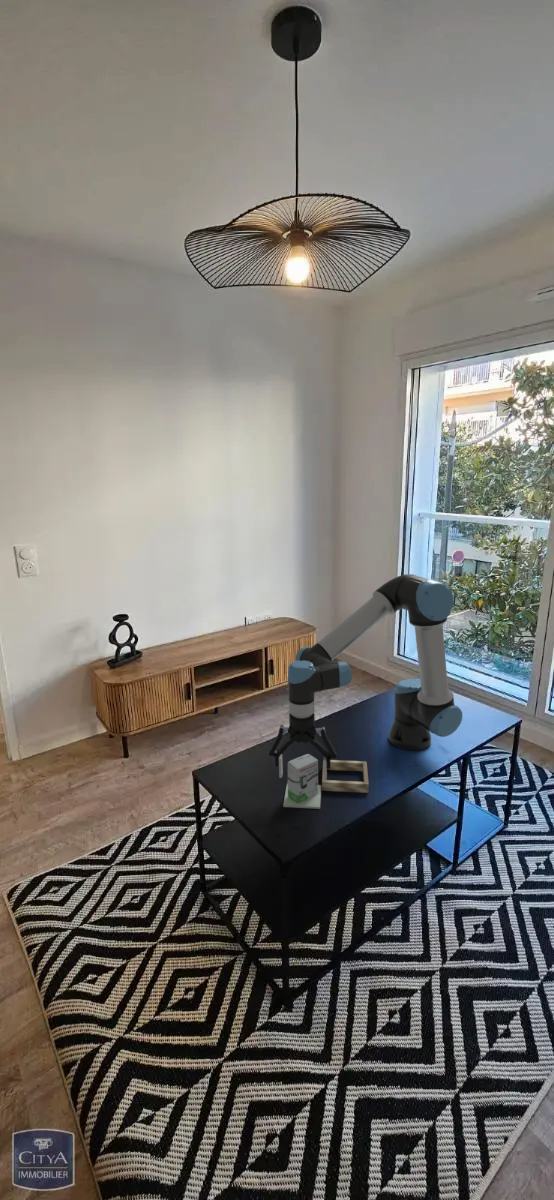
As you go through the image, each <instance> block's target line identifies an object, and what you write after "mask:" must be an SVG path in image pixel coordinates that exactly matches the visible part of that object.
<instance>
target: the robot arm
mask: <svg viewBox="0 0 554 1200" xmlns="http://www.w3.org/2000/svg"><path fill="white" fill-rule="evenodd" d="M453 609H454V595H453V592H452V591H451V589H450V588H449V586H447V585H446V584H445V583H444V582H440V581H439V580H436V579H432V578H430V579H429V578H426V577H423V576H418V575H416V574H411V573H407V574H402V575H399V576H395V577H394V578H392V579H390V580H388V581H386V582H385V583H384V584H382V585H381V586H380V587H378V588H377V589H376V590H375V591H373V592H372V597H371V598H370V599H368V600H367V601H366V602H365V603H364V604H362V605H361V606H360V607H359V608H358V609H355V611H354V612H352V613H351V614H350V615H349V616H348V617H347V618H346V619H344V620H343V621H342V622H341V623H339V624H338V625H337V626H336V627H335V628H333V629H331V631H330V632H328V633H327V634H326V635H325V636H324V637H323V638H321V639H320V640H319V641H317V642H316V643H315V644H314V645H313V646H311V647H310V646H304V647H301V648H300V649H299V650H298V651H297V652H296V655H295V661H292V662H291V663H290V664H289V665H288V669H287V682H288V687H287V688H288V712H289V713H288V717H289V719H288V720H289V721H288V722H289V726H288V727H287V726H284V724H280V725H279V729H278V734H277V736H276V738H275V740H274V741H273V742H272V745H271V747H270V749H269V752H268V755H269V756H270V757H274V758H275V759H274V762H275V763H274V764H275V767H277V768H278V774H279V775H278V777H279V778H280V779H281V778H283V774H284V773H283V770H284V769H283V753H284V752H286V750H287V749H288V748H289V747H290V746H291V745H292V744H293V743H294V742H296V743H306V744H308V742H309V743H310V744H311V745H312V746H314V748H315V749H317V750H318V752H319V753H320V754H321V755H322V756H323V760H324V780H328V778H327V777H328V772H327V771H328V770H327V769H330V760H332V759H336V758H337V750H336V749H335V747H334V745H333V743H332V741H331V739H330V738H329V735H327V731H326V727H325V725H324V726H323V725H322V726H321V727H316V725H315V724H316V723H315V722H316V721H315V719H316V718H315V715H316V714H315V693H319V692H323V691H329V690H333V689H340V688H343V687H345V686H348V685H350V683H351V682H352V679H353V676H352V673H353V672H352V670H351V667H350V665H349V663H348V662H346V661H344V660H342V661H341V660H339V661H338V660H337V661H335V662H334V660H335V659H336V658H337V657H338V656H340V655H341V654H342V653H343V652H345V651H346V650H347V649H348V648H350V646H352V645H353V644H354V643H355V642H356V641H358V640H359V639H360V638H362V636H364V635H365V634H366V633H368V631H370V630H371V629H372V628H373V627H375V625H377V624H378V623H379V622H380V621H382V620H383V619H385V617H386V616H387V615H390V616H392V615H395V613H396V612H397V611H400V610H406V611H407V612H408V613H407V614H408V623H409V624H411V625H412V626H413V627H414V632H415V642H416V650H417V662H418V671H419V679H415V678H410V679H409V678H408V679H403V680H399V681H398V682H397V683H396V684H395V689H394V707H393V708H394V713H393V715H394V716H393V721H392V723H391V726H390V729H389V731H388V741H389V742H390V743H391V744H392V745H393V746H394V747H396V748H398V749H401V750H406V751H422V750H425V749H427V748H429V747H430V746H431V743H432V735H431V734H434V735H436V736H437V737H441V738H445V737H449V736H451V735H452V734H454V733H455V732H456V731H457V730H458V729H459V727H460V726H461V724H462V721H463V711H462V709H461V708H460V706H458V705H455V699H454V697H455V696H454V693H453V691H452V690H451V689H450V688H449V686H448V685H449V683H448V673H447V662H446V660H447V659H446V651H445V650H446V649H445V637H444V636H445V635H444V627H443V626H444V624H445V623H446V622H447V620H448V617H449V616H450V614H451V613H452V610H453ZM286 734H288V735H289V737H288V738H287V739H285V741H284V742H283V743H282V744H281V745H280V746H279V744H280V742H281V740H282V739H283V736H284V735H286ZM316 734H318V735H319V736H320V737H321V740H322V742H323V743H324V744H323V743H321V741H320V740H319V739H318V738H317V736H316ZM324 745H325V746H326V747H325V746H324ZM278 746H279V747H278ZM277 748H278V749H277Z"/></svg>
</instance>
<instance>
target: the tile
mask: <svg viewBox="0 0 554 1200" xmlns="http://www.w3.org/2000/svg"><path fill="white" fill-rule="evenodd" d="M321 799H322V784H318V794H316V795H313V796H311V797H309V798H307V799H305V800H303V801H301V802H299V803H296V802H295V801H293V800H292V799H291V798H290V797H288V783H286V786H285V794H284V800H283V804H282V805H283V808H295V809H296V808H297V809H298V808H299V809H315V810H316V809H317V810H321V802H322V801H321Z"/></svg>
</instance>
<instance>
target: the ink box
mask: <svg viewBox="0 0 554 1200" xmlns="http://www.w3.org/2000/svg"><path fill="white" fill-rule="evenodd" d="M287 784H288V797H290V798H291V799H292V800H293V801H295V802H296V803H299V802H301V801H303V800H305V799H307V798H309V797H311V796H313V795H316V794H318V785H319V760H318V759H317V758H316V757H314V756H313V755H311V754H309V753H307V754H303V755H302V756H299V757H296V758H293V759H291V760H289V761H288V762H287Z"/></svg>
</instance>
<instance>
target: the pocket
mask: <svg viewBox="0 0 554 1200" xmlns="http://www.w3.org/2000/svg"><path fill="white" fill-rule="evenodd" d="M367 764H368V763H367V761H365V760H363V761H360V760H342V759H341V760H339V759H331V760H330V769H327V771H344V772H345V771H349V772H350V771H351V772H362V776H363V778H362V780H363V781H356V780H355V781H354V780H334V779H333V780H331V779H327V780H324V759H323V760H322V775H321V777H322V778H321V792H322V791H323V792H324V791H326V792H345V793H346V792H347V793H362V794H363V793H364V794H365V793H367V794H368V793H369V789H370V788H369V785H370V784H369V776H368V775H369V774H368V765H367Z"/></svg>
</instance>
